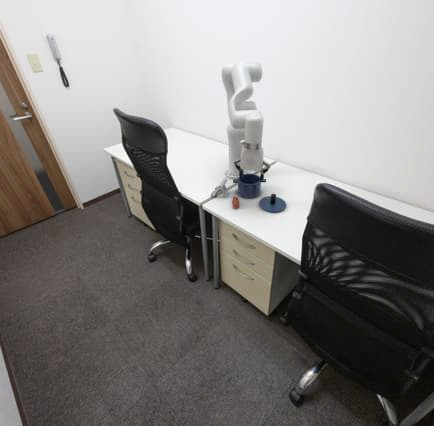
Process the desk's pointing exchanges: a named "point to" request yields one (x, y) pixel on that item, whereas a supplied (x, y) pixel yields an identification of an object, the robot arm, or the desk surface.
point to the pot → (249, 185)
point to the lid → (272, 203)
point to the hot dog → (235, 202)
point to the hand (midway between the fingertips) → (251, 179)
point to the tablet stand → (221, 186)
